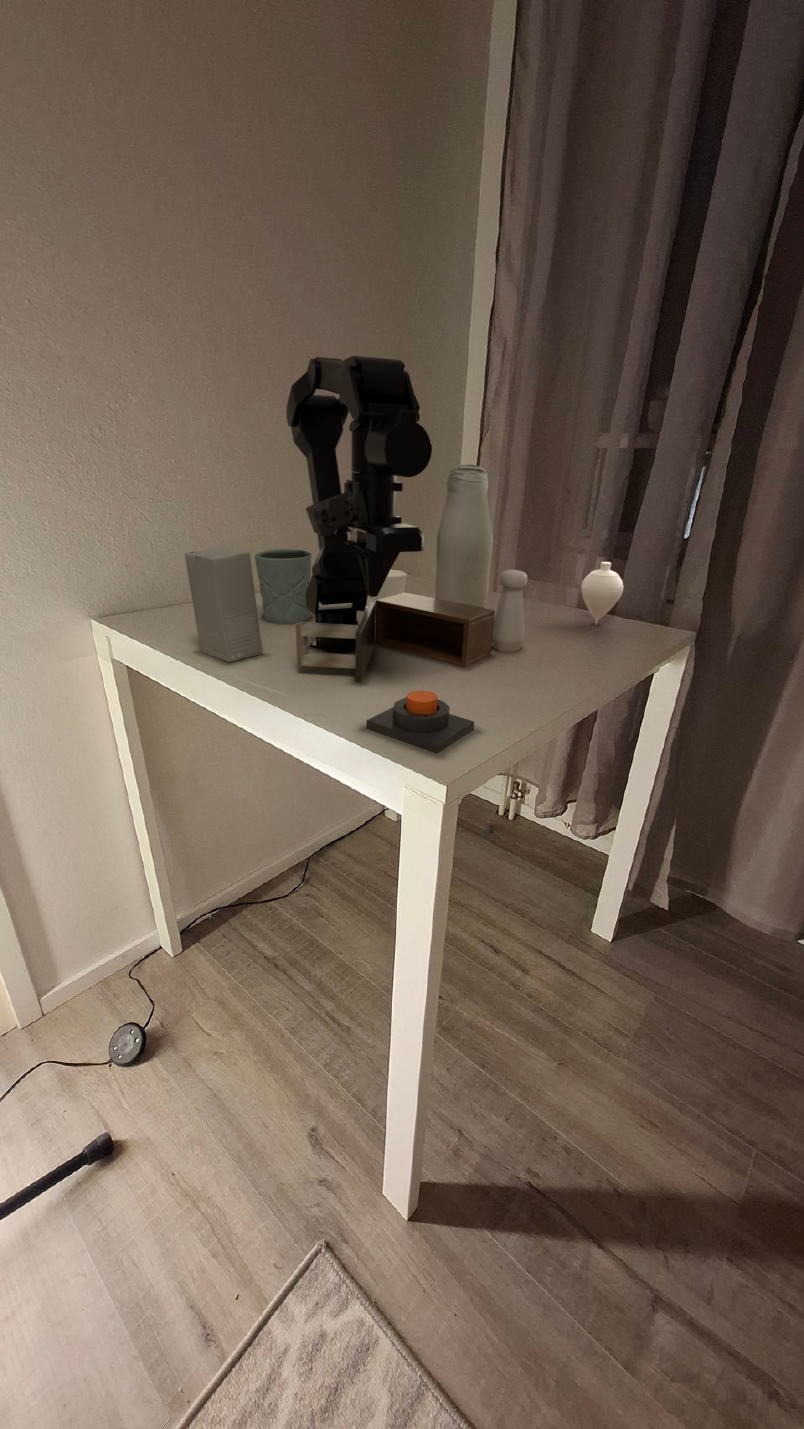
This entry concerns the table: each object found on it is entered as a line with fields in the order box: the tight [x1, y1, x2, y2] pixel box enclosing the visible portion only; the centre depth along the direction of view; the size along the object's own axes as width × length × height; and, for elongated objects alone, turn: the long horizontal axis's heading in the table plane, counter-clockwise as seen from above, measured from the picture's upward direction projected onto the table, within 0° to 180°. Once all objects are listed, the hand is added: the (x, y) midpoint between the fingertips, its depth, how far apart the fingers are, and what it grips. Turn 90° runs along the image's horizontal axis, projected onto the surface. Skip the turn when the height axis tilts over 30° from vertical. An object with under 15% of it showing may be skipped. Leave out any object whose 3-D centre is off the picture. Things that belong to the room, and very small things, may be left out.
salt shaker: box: [492, 569, 528, 653], centre depth 101 cm, size 6×6×13 cm
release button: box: [405, 690, 438, 714], centre depth 72 cm, size 4×4×2 cm
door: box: [295, 601, 376, 683], centre depth 93 cm, size 10×18×7 cm, turn 176°
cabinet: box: [375, 592, 496, 669], centre depth 100 cm, size 8×18×8 cm, turn 54°
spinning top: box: [580, 561, 624, 626], centre depth 117 cm, size 8×8×12 cm
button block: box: [366, 697, 475, 755], centre depth 72 cm, size 10×8×3 cm
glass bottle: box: [434, 464, 494, 608], centre depth 114 cm, size 10×10×28 cm
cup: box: [365, 569, 408, 614], centre depth 120 cm, size 7×10×8 cm
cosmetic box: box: [184, 547, 263, 663], centre depth 93 cm, size 8×7×16 cm
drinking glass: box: [254, 548, 312, 624], centre depth 114 cm, size 10×10×12 cm
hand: (372, 596), depth 83 cm, fingers closed
